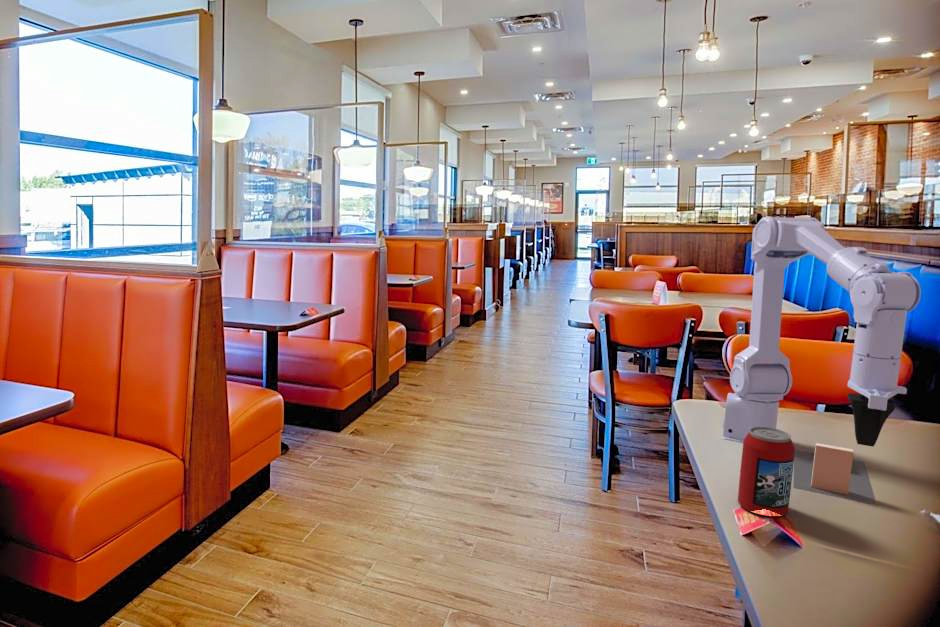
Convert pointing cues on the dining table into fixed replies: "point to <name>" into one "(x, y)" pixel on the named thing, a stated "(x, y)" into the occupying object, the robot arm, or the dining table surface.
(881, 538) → the dining table surface
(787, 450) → the beverage can
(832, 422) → the dining table surface
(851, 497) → the placemat
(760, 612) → the dining table surface
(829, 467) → the tile
